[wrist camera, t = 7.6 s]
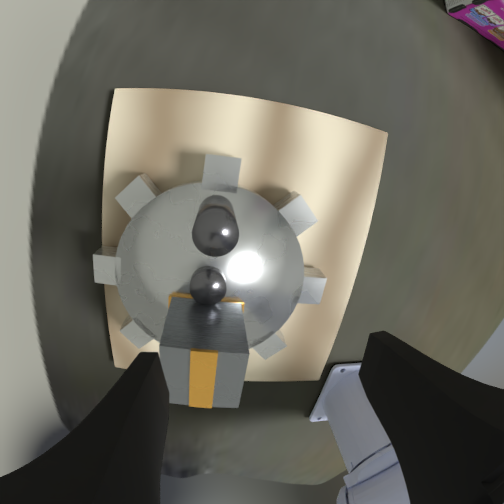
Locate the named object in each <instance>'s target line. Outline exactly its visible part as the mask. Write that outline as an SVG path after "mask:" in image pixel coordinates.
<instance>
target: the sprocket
mask: <svg viewBox="0 0 504 504" xmlns="http://www.w3.org/2000/svg"><path fill="white" fill-rule="evenodd" d="M241 160H242V158H237V157H230V156H222V155H213V154H206V157H205V164H204V171H203V179H202V180H198V181H191V182H187V183H183V184H180V185H177V186H174V187H172V188H169V189H168V190H166V191H164V192H162V193H161V191H160V190H159V189H158V188H157V186H156V185H155V184H154V183H153V181H152V180H151V179H150V178H149V177H148V175H147V174H146V173H145V174H142V175H139V176H138V177H137V178H135V179H134V180H133V181H132V182H131V183H130V184H129V185H128V186H127V187H126V188H125V189H124V190H123V191H122V192H120V193H119V194H118V195H117V196H116V197H115V199H116V200H117V201H118V203H119V204H120V205H121V206H122V208H123V209H124V210H125V211H126V212H127V214H128V215H129V216H130V217H131V218H132V219H131V221H130V222H129V223H128V225H127V226H126V228H125V230H124V232H123V234H122V236H121V239H120V242H119V245H118V248H117V247H108V246H101V247H100V248H99V249H98V250H97V251H96V252H95V253H94V254H93V266H94V279H95V283H102V284H109V285H116V286H117V288H118V292H119V295H120V298H121V300H122V303H123V305H124V307H125V308H126V310H127V312H128V314H129V316H128V317H127V318H125V320H124V322H123V324H122V326H121V329H120V332H121V333H122V334H123V335H124V336H125V337H126V338H127V339H128V340H129V341H131V342H132V343H133V344H134V345H135V346H136V347H137V348H138V349H140V348H141V347H143V346H144V345H146V344H147V343H148V342H150V341H151V340H153V339H154V340H156V341H157V342H159V343H160V340H161V336H162V332H163V328H164V324H165V320H166V317H167V313H168V309H169V305H170V302H171V298H172V297H181V298H190V299H194V300H195V301H197V302H199V303H201V304H204V305H213V304H216V303H218V302H231V303H241V305H242V311H243V317H244V323H245V329H246V335H247V341H248V347H249V349H250V348H253V349H254V350H255V351H256V352H257V353H258V354H259V355H260V356H261V357H262V358H264V359H265V360H266V359H267V358H269V357H271V356H272V355H274V354H276V353H277V352H279V351H280V350H282V349H284V348H285V347H287V344H286V341H285V338H284V336H283V333H282V332H281V331H280V330H279V329H280V328H281V327H282V326H283V325H284V324H285V322H286V321H287V320H288V319H289V317H290V316H291V314H292V313H293V311H294V309H295V307H296V305H297V303H301V304H320V302H321V298H322V295H323V291H324V287H325V284H326V280H327V278H326V277H325V275H324V274H323V273H322V272H321V270H320V269H319V268H309V267H304V261H303V255H302V251H301V247H300V244H299V241H298V239H297V236H299V235H300V234H301V233H303V232H304V231H305V230H307V229H308V228H309V227H311V226H312V225H314V224H315V223H316V222H318V220H317V219H316V217H315V215H314V214H313V212H312V211H311V209H310V208H309V206H308V205H307V203H306V202H305V200H304V199H303V197H302V196H301V195H300V194H299V193H297V192H295V191H292V192H291V193H290V194H288V195H287V196H285V197H284V198H283V199H281V200H280V201H279V202H277V203H276V204H275V205H272V204H271V203H270V202H268V201H267V200H266V199H265V198H263V197H262V196H260V195H259V194H257V193H256V192H254V191H252V190H250V189H248V188H246V187H244V186H241V185H238V180H239V173H240V167H241Z"/></svg>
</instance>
